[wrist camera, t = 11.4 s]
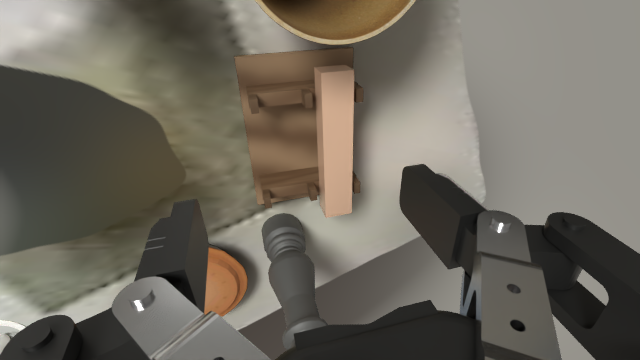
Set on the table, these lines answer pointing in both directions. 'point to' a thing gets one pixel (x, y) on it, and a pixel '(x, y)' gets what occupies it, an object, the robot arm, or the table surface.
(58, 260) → the table surface
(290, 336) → the candle holder
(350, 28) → the plant pot
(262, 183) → the rack
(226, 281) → the pie
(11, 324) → the teacup and saucer
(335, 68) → the strip
